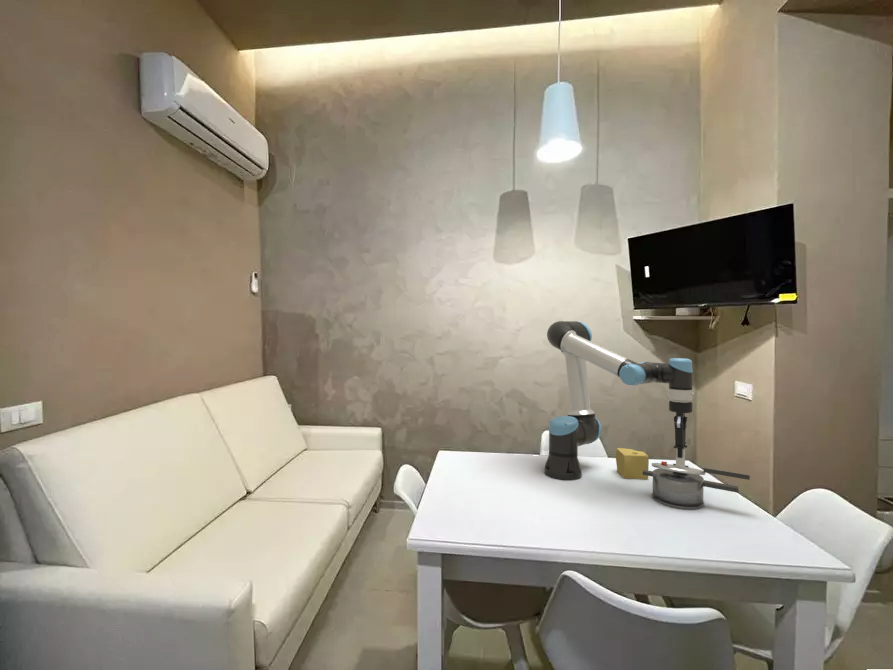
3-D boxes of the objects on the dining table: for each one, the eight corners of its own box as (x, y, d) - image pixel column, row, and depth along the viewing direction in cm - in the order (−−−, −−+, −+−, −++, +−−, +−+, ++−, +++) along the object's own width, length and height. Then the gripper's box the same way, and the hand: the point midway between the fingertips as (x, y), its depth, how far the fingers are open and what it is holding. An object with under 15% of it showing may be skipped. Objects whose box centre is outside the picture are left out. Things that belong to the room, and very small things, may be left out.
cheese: (640, 471, 186) (640, 448, 186) (649, 480, 176) (650, 455, 175) (615, 470, 187) (615, 447, 187) (622, 479, 177) (623, 454, 176)
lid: (647, 467, 153) (648, 460, 153) (656, 464, 168) (656, 457, 168) (749, 485, 136) (750, 477, 137) (749, 479, 151) (749, 472, 151)
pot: (638, 500, 155) (638, 475, 155) (647, 485, 169) (647, 462, 169) (737, 521, 138) (738, 493, 138) (738, 503, 153) (738, 478, 152)
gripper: (690, 404, 150) (690, 472, 150) (694, 399, 161) (694, 463, 161) (666, 402, 154) (666, 468, 154) (671, 397, 165) (671, 459, 165)
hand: (680, 465), depth 157 cm, fingers closed
